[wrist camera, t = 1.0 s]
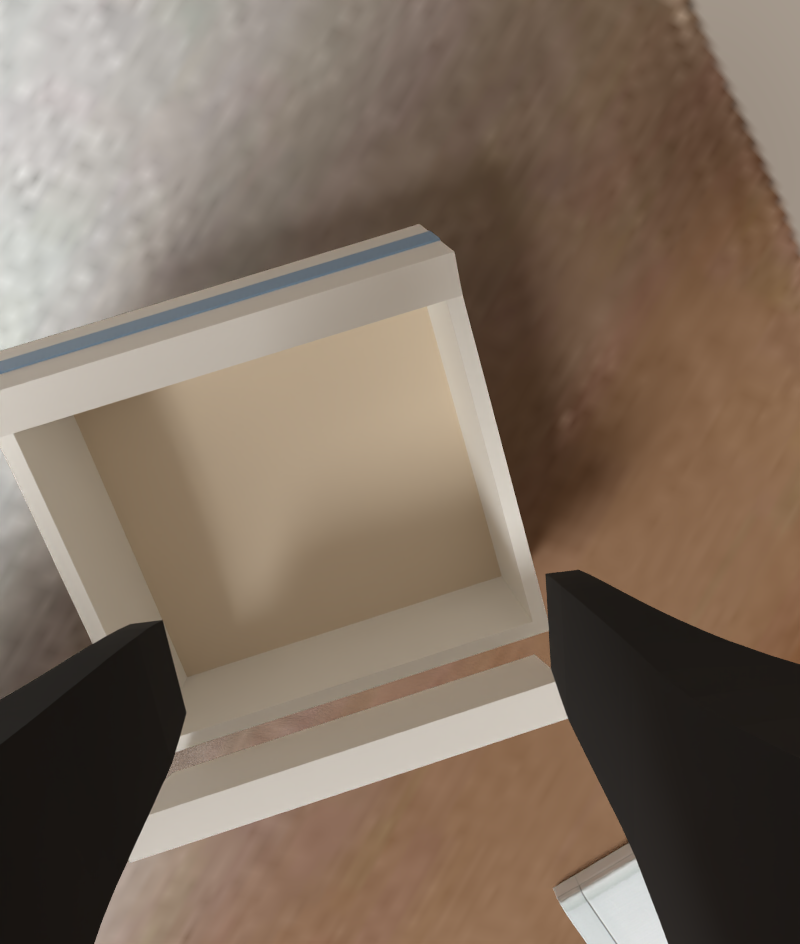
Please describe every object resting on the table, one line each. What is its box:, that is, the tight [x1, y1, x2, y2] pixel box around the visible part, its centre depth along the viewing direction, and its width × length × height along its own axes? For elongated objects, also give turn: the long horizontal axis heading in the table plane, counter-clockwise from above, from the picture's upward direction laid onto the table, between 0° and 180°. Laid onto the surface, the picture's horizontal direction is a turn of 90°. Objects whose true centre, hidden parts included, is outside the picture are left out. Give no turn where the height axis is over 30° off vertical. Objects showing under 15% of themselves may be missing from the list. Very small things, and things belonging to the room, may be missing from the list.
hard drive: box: [553, 843, 668, 944], centre depth 29 cm, size 2×8×12 cm
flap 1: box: [0, 224, 462, 437], centre depth 15 cm, size 12×4×1 cm
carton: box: [0, 295, 549, 752], centre depth 21 cm, size 14×12×4 cm
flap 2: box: [129, 655, 568, 863], centre depth 18 cm, size 12×4×1 cm
